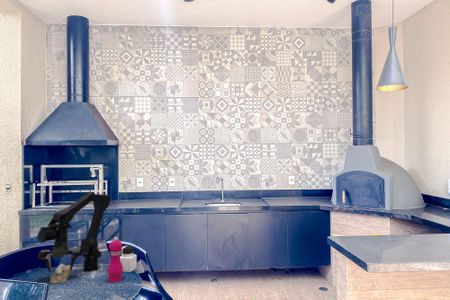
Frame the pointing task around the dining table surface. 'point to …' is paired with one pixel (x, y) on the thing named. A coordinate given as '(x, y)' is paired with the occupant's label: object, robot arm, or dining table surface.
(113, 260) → the pepper mill
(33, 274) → the dining table surface
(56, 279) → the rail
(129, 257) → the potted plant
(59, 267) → the clip
